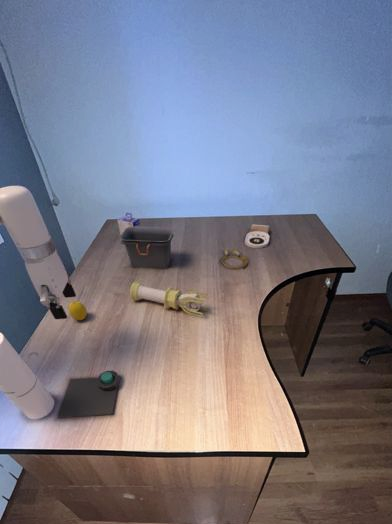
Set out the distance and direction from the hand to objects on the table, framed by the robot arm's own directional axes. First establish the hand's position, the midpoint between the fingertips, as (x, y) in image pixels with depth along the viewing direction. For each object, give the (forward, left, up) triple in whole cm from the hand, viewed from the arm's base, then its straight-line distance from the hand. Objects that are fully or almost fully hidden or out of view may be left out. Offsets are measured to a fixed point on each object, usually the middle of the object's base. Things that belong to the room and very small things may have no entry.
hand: (66, 307), depth 74 cm
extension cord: (+56, +50, -17) cm, 77 cm away
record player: (+71, +71, -17) cm, 102 cm away
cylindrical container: (-7, -22, -17) cm, 28 cm away
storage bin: (+18, +50, -17) cm, 56 cm away
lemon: (-5, +14, -17) cm, 23 cm away
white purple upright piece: (+7, +73, -17) cm, 76 cm away
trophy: (+27, +19, -17) cm, 37 cm away
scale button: (+11, -16, -14) cm, 24 cm away
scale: (+6, -20, -17) cm, 26 cm away
